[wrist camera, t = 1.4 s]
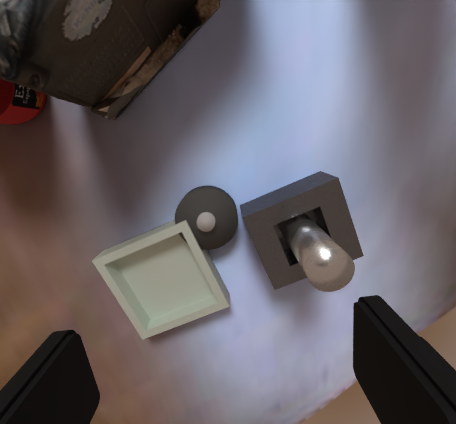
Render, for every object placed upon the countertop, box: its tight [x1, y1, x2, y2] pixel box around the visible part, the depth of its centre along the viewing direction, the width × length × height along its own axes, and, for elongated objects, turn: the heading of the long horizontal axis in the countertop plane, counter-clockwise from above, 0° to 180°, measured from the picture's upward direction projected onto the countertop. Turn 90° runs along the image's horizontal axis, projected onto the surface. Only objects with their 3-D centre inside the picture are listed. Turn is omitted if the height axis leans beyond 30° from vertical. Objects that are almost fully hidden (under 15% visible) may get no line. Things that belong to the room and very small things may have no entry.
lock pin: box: [279, 213, 355, 292], centre depth 25 cm, size 4×4×11 cm
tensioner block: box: [240, 171, 363, 290], centre depth 29 cm, size 10×9×5 cm
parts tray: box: [92, 220, 230, 339], centre depth 32 cm, size 12×12×3 cm
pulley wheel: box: [175, 186, 238, 250], centre depth 30 cm, size 7×7×3 cm
